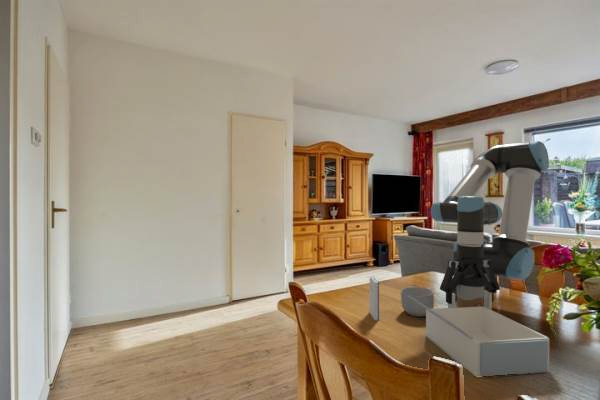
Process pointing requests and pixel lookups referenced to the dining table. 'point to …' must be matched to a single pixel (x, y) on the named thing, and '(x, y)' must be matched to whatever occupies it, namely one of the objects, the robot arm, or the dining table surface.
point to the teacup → (420, 295)
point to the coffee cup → (470, 291)
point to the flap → (440, 317)
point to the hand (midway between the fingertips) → (469, 312)
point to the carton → (488, 341)
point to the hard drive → (374, 298)
